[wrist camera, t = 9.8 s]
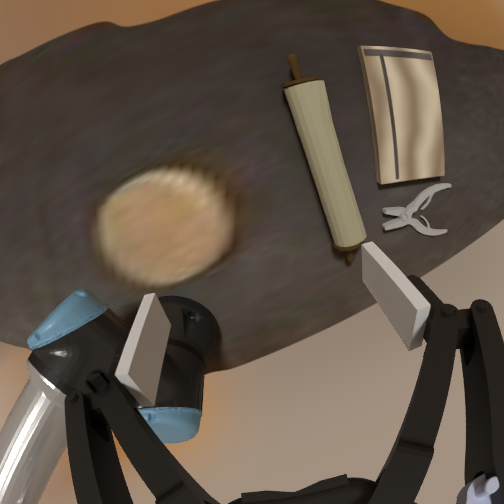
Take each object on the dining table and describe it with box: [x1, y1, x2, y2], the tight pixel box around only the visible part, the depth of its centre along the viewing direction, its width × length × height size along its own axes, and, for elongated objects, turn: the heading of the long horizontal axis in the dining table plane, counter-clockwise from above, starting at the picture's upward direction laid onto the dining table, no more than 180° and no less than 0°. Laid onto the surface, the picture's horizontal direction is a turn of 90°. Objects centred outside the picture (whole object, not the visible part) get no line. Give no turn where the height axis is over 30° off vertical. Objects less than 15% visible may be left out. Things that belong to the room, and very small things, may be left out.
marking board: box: [357, 46, 444, 184], centre depth 33 cm, size 13×21×2 cm, turn 12°
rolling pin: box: [281, 54, 366, 262], centre depth 36 cm, size 32×6×5 cm, turn 20°
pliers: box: [382, 183, 451, 236], centre depth 41 cm, size 10×2×15 cm
